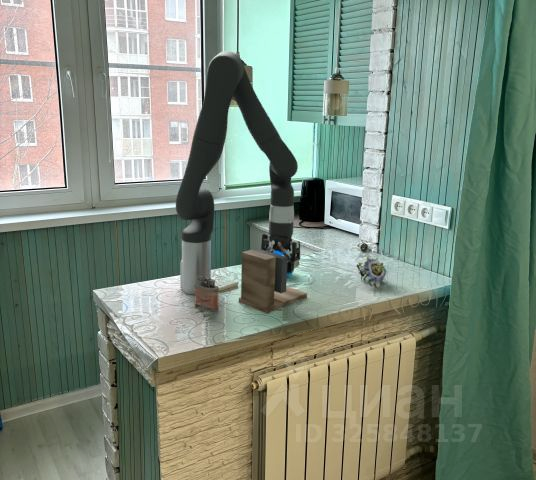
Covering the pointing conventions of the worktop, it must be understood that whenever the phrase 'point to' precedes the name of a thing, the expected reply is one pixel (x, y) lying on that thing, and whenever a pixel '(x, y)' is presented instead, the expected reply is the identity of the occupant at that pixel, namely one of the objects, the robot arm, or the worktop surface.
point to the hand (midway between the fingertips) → (279, 269)
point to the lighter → (206, 295)
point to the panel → (279, 271)
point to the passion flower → (372, 271)
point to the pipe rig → (264, 284)
